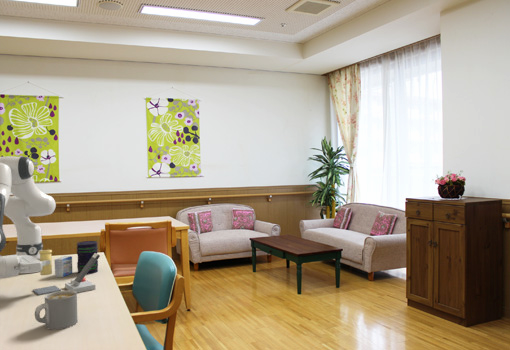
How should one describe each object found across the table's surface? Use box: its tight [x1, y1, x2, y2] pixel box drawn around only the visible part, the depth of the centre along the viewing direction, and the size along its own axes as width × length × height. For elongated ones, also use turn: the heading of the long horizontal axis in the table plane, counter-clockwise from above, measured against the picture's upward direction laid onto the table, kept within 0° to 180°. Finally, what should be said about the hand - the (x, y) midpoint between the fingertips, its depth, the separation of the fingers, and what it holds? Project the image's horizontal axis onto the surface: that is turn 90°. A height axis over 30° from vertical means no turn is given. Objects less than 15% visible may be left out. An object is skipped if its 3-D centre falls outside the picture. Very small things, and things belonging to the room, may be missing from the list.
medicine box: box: [54, 255, 73, 278], centre depth 216 cm, size 8×4×9 cm, turn 168°
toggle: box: [72, 253, 101, 286], centre depth 192 cm, size 5×2×15 cm
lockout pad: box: [32, 285, 62, 296], centre depth 188 cm, size 9×9×1 cm
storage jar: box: [76, 240, 99, 275], centre depth 221 cm, size 10×10×15 cm
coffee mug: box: [34, 290, 79, 330], centre depth 147 cm, size 13×10×10 cm
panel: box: [64, 277, 96, 294], centre depth 191 cm, size 12×9×3 cm
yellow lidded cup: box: [39, 249, 53, 276], centre depth 188 cm, size 5×5×10 cm
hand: (48, 260), depth 188 cm, fingers closed on yellow lidded cup, 4 cm apart
